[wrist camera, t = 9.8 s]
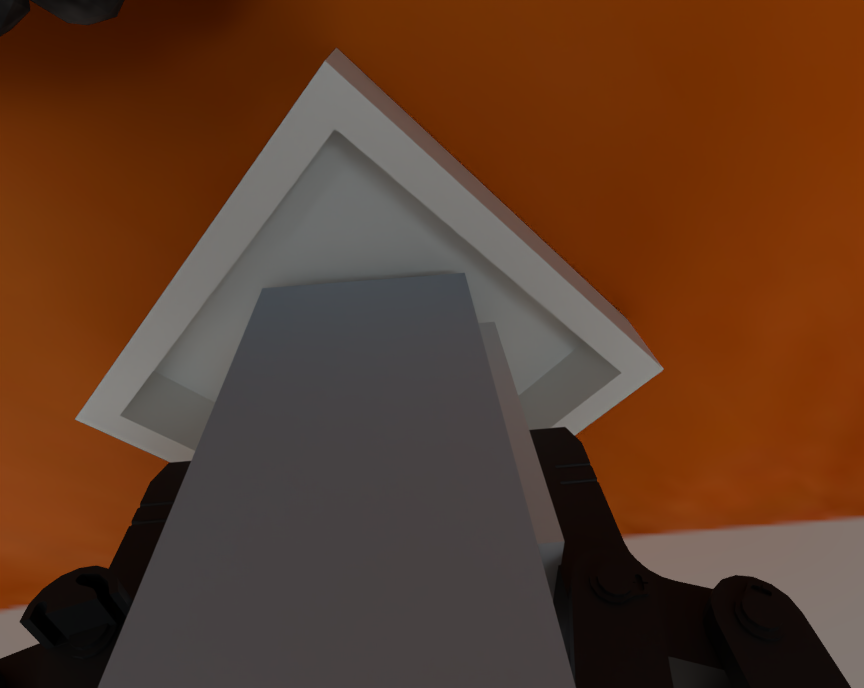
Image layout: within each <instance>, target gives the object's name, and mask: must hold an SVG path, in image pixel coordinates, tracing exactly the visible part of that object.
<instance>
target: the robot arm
mask: <svg viewBox="0 0 864 688" xmlns="http://www.w3.org/2000/svg"><path fill="white" fill-rule="evenodd" d="M478 324H479V328H480V332H481V335H482V339H483V343H484V347H485V350H486V354H487V358H488V362H489V365H490V369H491V373H492V376H493V380H494V384H495V388H496V391H497V395H498V399H499V403H500V406H501V410H502V414H503V418H504V421H505V425H506V429H507V432H508V436H509V440H510V444H511V447H512V451H513V455H514V459H515V462H516V466H517V470H518V473H519V477H520V481H521V485H522V488H523V492H524V496H525V500H526V503H527V507H528V511H529V515H530V518H531V522H532V526H533V529H534V533H535V537H536V541H537V544H538V548H539V552H540V556H541V559H542V563H543V567H544V571H545V574H546V578H547V582H548V585H549V589H550V593H551V597H552V600H553V604H554V608H555V612H556V615H557V619H558V623H559V627H560V630H561V634H562V638H563V641H564V645H565V649H566V653H567V656H568V660H569V664H570V668H571V671H572V675H573V679H574V683H575V686H576V688H851V687H850V685H849V684H848V682H847V681H846V679H845V677H844V676H843V674H842V673H841V671H840V670H839V668H838V667H837V665H836V664H835V662H834V661H833V659H832V657H831V656H830V654H829V653H828V651H827V650H826V648H825V647H824V645H823V644H822V642H821V641H820V639H819V638H818V636H817V634H816V633H815V631H814V630H813V628H812V627H811V625H810V624H809V622H808V621H807V619H806V618H805V616H804V615H803V613H802V612H801V611H800V609H799V608H798V607H797V606H796V605H795V603H794V602H793V601H792V600H791V599H790V598H789V597H788V596H787V595H786V594H784V593H783V592H781V591H780V590H779V589H777V588H776V587H774V586H773V585H772V584H769V583H767V582H764V581H762V580H759V579H757V578H754V577H749V576H738V575H735V576H732V577H728V578H725V579H722V580H721V581H720V582H719V583H718V584H717V586H716V587H715V588H714V589H710V588H706V587H701V586H696V585H692V584H687V583H683V582H678V581H674V580H671V579H667V578H664V577H661V576H659V575H658V574H656V573H654V572H652V571H650V570H648V569H647V568H646V567H645V566H643V565H642V564H641V563H640V562H639V561H637V560H636V559H635V558H634V556H633V555H632V554H631V553H630V552H629V550H628V548H627V546H626V545H625V543H624V541H623V538H622V536H621V534H620V531H619V529H618V527H617V524H616V522H615V520H614V517H613V515H612V513H611V510H610V508H609V506H608V503H607V501H606V499H605V496H604V494H603V492H602V489H601V487H600V485H599V482H597V477H596V475H595V473H594V470H593V468H592V466H590V461H589V459H588V456H587V454H586V452H585V449H584V447H583V445H582V443H581V442H580V441H579V440H578V439H577V438H576V437H575V436H574V435H573V434H572V433H571V432H570V431H569V430H568V429H567V428H566V427H556V428H545V429H533V430H529V428H528V425H527V422H526V419H525V416H524V413H523V409H522V406H521V403H520V400H519V397H518V394H517V391H516V387H515V384H514V381H513V378H512V375H511V372H510V369H509V366H508V362H507V359H506V356H505V353H504V350H503V347H502V344H501V340H500V337H499V334H498V331H497V328H496V325H495V322H485V323H478ZM190 463H191V461H182V462H171V463H168V464H167V465H166V466H165V467H164V469H163V470H162V471H161V472H160V473H159V474H158V475H157V476H156V477H155V478H154V479H153V480H152V481H151V482H150V484H149V486H148V488H147V490H146V492H145V495H144V497H143V499H142V501H141V503H140V508H138V509H137V511H136V513H135V515H134V517H133V519H132V525H131V526H129V528H128V530H127V532H126V534H125V536H124V538H123V540H122V542H121V544H120V546H119V549H118V551H117V553H116V555H115V557H114V559H113V561H112V563H111V565H110V567H109V569H107V568H104V567H100V566H90V567H83V568H79V569H76V570H74V571H72V572H69V573H67V574H65V575H62V576H60V577H59V578H58V579H56V580H55V581H53V582H52V583H51V584H49V585H48V586H46V587H45V588H43V589H42V591H41V592H40V593H39V594H38V595H37V596H36V597H35V598H34V599H33V600H32V601H31V603H30V604H29V605H28V607H27V609H26V610H25V612H24V614H23V616H22V618H21V620H20V623H21V624H22V625H23V626H24V627H25V628H26V629H27V630H28V631H29V632H30V633H31V634H32V635H33V636H34V637H35V638H36V639H37V640H38V641H39V643H40V644H37V645H34V646H32V647H29V648H27V649H24V650H21V651H19V652H16V653H14V654H11V655H9V656H6V657H4V658H1V659H0V688H98V686H99V683H100V681H101V679H102V676H103V674H104V671H105V669H106V666H107V664H108V662H109V659H110V657H111V654H112V652H113V649H114V647H115V645H116V642H117V640H118V637H119V635H120V632H121V630H122V628H123V625H124V623H125V620H126V618H127V616H128V613H129V611H130V608H131V606H132V603H133V601H134V599H135V596H136V594H137V591H138V589H139V586H140V584H141V582H142V579H143V577H144V574H145V572H146V569H147V567H148V565H149V562H150V560H151V557H152V555H153V552H154V550H155V548H156V545H157V543H158V540H159V538H160V535H161V533H162V531H163V528H164V526H165V523H166V521H167V519H168V516H169V514H170V511H171V509H172V506H173V504H174V502H175V499H176V497H177V494H178V492H179V489H180V487H181V485H182V482H183V480H184V477H185V475H186V472H187V470H188V468H189V465H190Z"/></svg>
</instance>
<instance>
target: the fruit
mask: <svg viewBox="0 0 864 688" xmlns="http://www.w3.org/2000/svg"><path fill="white" fill-rule="evenodd" d="M31 1H32V2H34V3H36V4H37V5H39V6H40V7H42V8H44V9H45V10H47V11H49V12H50V13H52V14H54V15H55V16H57V17H59V18H60V19H62V20H64V21H65V22H67V23H73V24H82V25H91V24H94V23H97V22H101V21H104V20H107V19H111V18H114V17H117V15H118V13H119V11H120V8H121V6H122V4H123V2H124V0H31ZM29 11H30V4H29V0H0V36H2V35H3V34H5V33H6V32H8V31H10V30H11V29H12V28H13V27H14V26H15V25H16V24H17V23H18V22H19V21H20V20H21V19H22V18H23V17H24V16H25V15H26V14H27V13H28V12H29Z"/></svg>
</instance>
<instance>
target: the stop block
mask: <svg viewBox="0 0 864 688" xmlns="http://www.w3.org/2000/svg"><path fill="white" fill-rule="evenodd" d="M98 688H576V686H575V683H574V679H573V675H572V671H571V668H570V664H569V660H568V656H567V653H566V649H565V645H564V641H563V638H562V634H561V630H560V627H559V623H558V619H557V615H556V612H555V608H554V604H553V600H552V597H551V593H550V589H549V585H548V582H547V578H546V574H545V571H544V567H543V563H542V559H541V556H540V552H539V548H538V544H537V541H536V537H535V533H534V529H533V526H532V522H531V518H530V515H529V511H528V507H527V503H526V500H525V496H524V492H523V488H522V485H521V481H520V477H519V473H518V470H517V466H516V462H515V459H514V455H513V451H512V447H511V444H510V440H509V436H508V432H507V429H506V425H505V421H504V418H503V414H502V410H501V406H500V403H499V399H498V395H497V391H496V388H495V384H494V380H493V376H492V373H491V369H490V365H489V362H488V358H487V354H486V350H485V347H484V343H483V339H482V335H481V332H480V328H479V324H478V320H477V317H476V313H475V309H474V306H473V302H472V298H471V294H470V291H469V287H468V283H467V279H466V276H465V273H456V274H443V275H430V276H416V277H403V278H390V279H377V280H364V281H351V282H338V283H325V284H312V285H298V286H285V287H272V288H262V291H261V293H260V295H259V298H258V300H257V303H256V305H255V308H254V310H253V312H252V315H251V317H250V320H249V322H248V325H247V327H246V329H245V332H244V334H243V337H242V339H241V342H240V344H239V346H238V349H237V351H236V354H235V356H234V358H233V361H232V363H231V366H230V368H229V371H228V373H227V375H226V378H225V380H224V383H223V385H222V388H221V390H220V392H219V395H218V397H217V400H216V402H215V405H214V407H213V409H212V412H211V414H210V417H209V419H208V422H207V424H206V426H205V429H204V431H203V434H202V436H201V439H200V441H199V443H198V446H197V448H196V451H195V453H194V455H193V458H192V460H191V463H190V465H189V468H188V470H187V472H186V475H185V477H184V480H183V482H182V485H181V487H180V489H179V492H178V494H177V497H176V499H175V502H174V504H173V506H172V509H171V511H170V514H169V516H168V519H167V521H166V523H165V526H164V528H163V531H162V533H161V535H160V538H159V540H158V543H157V545H156V548H155V550H154V552H153V555H152V557H151V560H150V562H149V565H148V567H147V569H146V572H145V574H144V577H143V579H142V582H141V584H140V586H139V589H138V591H137V594H136V596H135V599H134V601H133V603H132V606H131V608H130V611H129V613H128V616H127V618H126V620H125V623H124V625H123V628H122V630H121V632H120V635H119V637H118V640H117V642H116V645H115V647H114V649H113V652H112V654H111V657H110V659H109V662H108V664H107V666H106V669H105V671H104V674H103V676H102V679H101V681H100V683H99V686H98Z"/></svg>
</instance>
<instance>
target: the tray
mask: <svg viewBox="0 0 864 688" xmlns="http://www.w3.org/2000/svg"><path fill="white" fill-rule="evenodd" d="M456 273H465V276H466V279H467V283H468V287H469V291H470V294H471V298H472V302H473V306H474V309H475V313H476V317H477V320H478V323H485V322H495V325H496V328H497V331H498V334H499V337H500V340H501V344H502V347H503V350H504V353H505V356H506V359H507V362H508V366H509V369H510V372H511V375H512V378H513V381H514V384H515V387H516V391H517V394H518V397H519V400H520V403H521V406H522V409H523V413H524V416H525V419H526V422H527V425H528V428H529V430H533V429H545V428H556V427H566V428H567V429H568V430H569V431H570V432H571V433H572V434H573V435H574V436H575V435H576V434H577V433H579V432H580V431H582V430H583V429H584V428H586V427H587V426H588V425H590V424H591V423H592V422H594V421H595V420H596V419H598V418H599V417H600V416H602V415H603V414H604V413H606V412H607V411H608V410H610V409H611V408H612V407H614V406H615V405H617V404H618V403H619V402H621V401H622V400H623V399H625V398H626V397H627V396H629V395H630V394H631V393H633V392H634V391H635V390H637V389H638V388H639V387H641V386H642V385H643V384H645V383H646V382H648V381H649V380H650V379H652V378H653V377H654V376H656V375H657V374H658V373H660V372H661V371H662V370H664V369H663V367H662V366H661V365H660V363H659V362H658V361H657V359H656V358H655V356H654V355H653V354H652V352H651V351H650V350H649V348H648V347H647V345H646V344H645V343H644V341H643V340H642V339H641V337H640V336H639V335H638V333H637V332H636V330H635V329H634V328H633V326H632V325H631V324H630V322H629V321H628V320H627V319H626V318H625V317H624V316H623V315H622V314H621V313H620V312H619V311H618V310H617V309H616V308H615V307H614V306H613V305H611V304H610V303H609V302H608V301H607V300H606V299H605V298H604V297H603V296H602V295H601V294H600V293H599V292H598V291H596V290H595V289H594V288H593V287H592V286H591V285H590V284H589V283H588V282H587V281H586V280H585V279H584V278H583V277H581V276H580V275H579V274H578V273H577V272H576V271H575V270H574V269H573V268H572V267H571V266H570V265H569V264H568V263H566V262H565V261H564V260H563V259H562V258H561V257H560V256H559V255H558V254H557V253H556V252H555V251H554V250H553V249H552V248H550V247H549V246H548V245H547V244H546V243H545V242H544V241H543V240H542V239H541V238H540V237H539V236H538V235H537V234H535V233H534V232H533V231H532V230H531V229H530V228H529V227H528V226H527V225H526V224H525V223H524V222H523V221H522V220H520V219H519V218H518V217H517V216H516V215H515V214H514V213H513V212H512V211H511V210H510V209H509V208H508V207H507V206H505V205H504V204H503V203H502V202H501V201H500V200H499V199H498V198H497V197H496V196H495V195H494V194H493V193H492V192H491V191H489V190H488V189H487V188H486V187H485V186H484V185H483V184H482V183H481V182H480V181H479V180H478V179H477V178H476V177H474V176H473V175H472V174H471V173H470V172H469V171H468V170H467V169H466V168H465V167H464V166H463V165H462V164H461V163H459V162H458V161H457V160H456V159H455V158H454V157H453V156H452V155H451V154H450V153H449V152H448V151H447V150H446V149H444V148H443V147H442V146H441V145H440V144H439V143H438V142H437V141H436V140H435V139H434V138H433V137H432V136H431V135H430V134H428V133H427V132H426V131H425V130H424V129H423V128H422V127H421V126H420V125H419V124H418V123H417V122H416V121H415V120H413V119H412V118H411V117H410V116H409V115H408V114H407V113H406V112H405V111H404V110H403V109H402V108H401V107H400V106H398V105H397V104H396V103H395V102H394V101H393V100H392V99H391V98H390V97H389V96H388V95H387V94H386V93H385V92H383V91H382V90H381V89H380V88H379V87H378V86H377V85H376V84H375V83H374V82H373V81H372V80H371V79H370V78H369V77H367V76H366V75H365V74H364V73H363V72H362V71H361V70H360V69H359V68H358V67H357V66H356V65H355V64H354V63H352V62H351V61H350V60H349V59H348V58H347V57H346V56H345V55H344V54H343V53H342V52H341V51H340V50H339V49H337V48H336V49H335V50H334V51H333V52H332V53H331V54H330V55H329V56H328V58H327V59H326V60H325V61H324V63H323V64H322V65H321V67H320V68H319V70H318V71H317V73H316V74H315V76H314V77H313V78H312V80H311V81H310V83H309V84H308V86H307V87H306V88H305V90H304V91H303V93H302V94H301V96H300V97H299V98H298V100H297V101H296V103H295V104H294V106H293V107H292V109H291V110H290V111H289V113H288V114H287V116H286V117H285V119H284V120H283V121H282V123H281V124H280V126H279V127H278V129H277V130H276V131H275V133H274V134H273V136H272V137H271V139H270V140H269V141H268V143H267V144H266V146H265V147H264V149H263V150H262V152H261V153H260V154H259V156H258V157H257V159H256V160H255V162H254V163H253V164H252V166H251V167H250V169H249V170H248V172H247V173H246V174H245V176H244V177H243V179H242V180H241V182H240V183H239V185H238V186H237V187H236V189H235V190H234V192H233V193H232V195H231V196H230V197H229V199H228V200H227V202H226V203H225V205H224V206H223V207H222V209H221V210H220V212H219V213H218V215H217V216H216V218H215V219H214V220H213V222H212V223H211V225H210V226H209V228H208V229H207V230H206V232H205V233H204V235H203V236H202V238H201V239H200V240H199V242H198V243H197V245H196V246H195V248H194V249H193V251H192V252H191V253H190V255H189V256H188V258H187V259H186V261H185V262H184V263H183V265H182V266H181V268H180V269H179V271H178V272H177V273H176V275H175V276H174V278H173V279H172V281H171V282H170V284H169V285H168V286H167V288H166V289H165V291H164V292H163V294H162V295H161V296H160V298H159V299H158V301H157V302H156V304H155V305H154V306H153V308H152V309H151V311H150V312H149V314H148V315H147V317H146V318H145V319H144V321H143V322H142V324H141V325H140V327H139V328H138V329H137V331H136V332H135V334H134V335H133V337H132V338H131V339H130V341H129V342H128V344H127V345H126V347H125V348H124V350H123V351H122V352H121V354H120V355H119V357H118V358H117V360H116V361H115V362H114V364H113V365H112V367H111V368H110V370H109V371H108V372H107V374H106V375H105V377H104V378H103V380H102V381H101V383H100V384H99V385H98V387H97V388H96V390H95V391H94V393H93V394H92V395H91V397H90V398H89V400H88V401H87V403H86V404H85V405H84V407H83V408H82V410H81V411H80V413H79V414H78V416H77V417H76V418H75V420H77V421H80V422H82V423H84V424H86V425H88V426H91V427H93V428H95V429H97V430H100V431H102V432H104V433H106V434H108V435H111V436H113V437H115V438H117V439H120V440H122V441H124V442H126V443H128V444H131V445H133V446H135V447H137V448H140V449H142V450H144V451H146V452H148V453H151V454H153V455H155V456H157V457H160V458H162V459H164V460H166V461H168V462H182V461H191V460H192V458H193V455H194V453H195V451H196V448H197V446H198V443H199V441H200V439H201V436H202V434H203V431H204V429H205V426H206V424H207V422H208V419H209V417H210V414H211V412H212V409H213V407H214V405H215V402H216V400H217V397H218V395H219V392H220V390H221V388H222V385H223V383H224V380H225V378H226V375H227V373H228V371H229V368H230V366H231V363H232V361H233V358H234V356H235V354H236V351H237V349H238V346H239V344H240V342H241V339H242V337H243V334H244V332H245V329H246V327H247V325H248V322H249V320H250V317H251V315H252V312H253V310H254V308H255V305H256V303H257V300H258V298H259V295H260V293H261V291H262V288H272V287H285V286H298V285H312V284H325V283H338V282H351V281H364V280H377V279H390V278H403V277H416V276H430V275H443V274H456Z"/></svg>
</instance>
